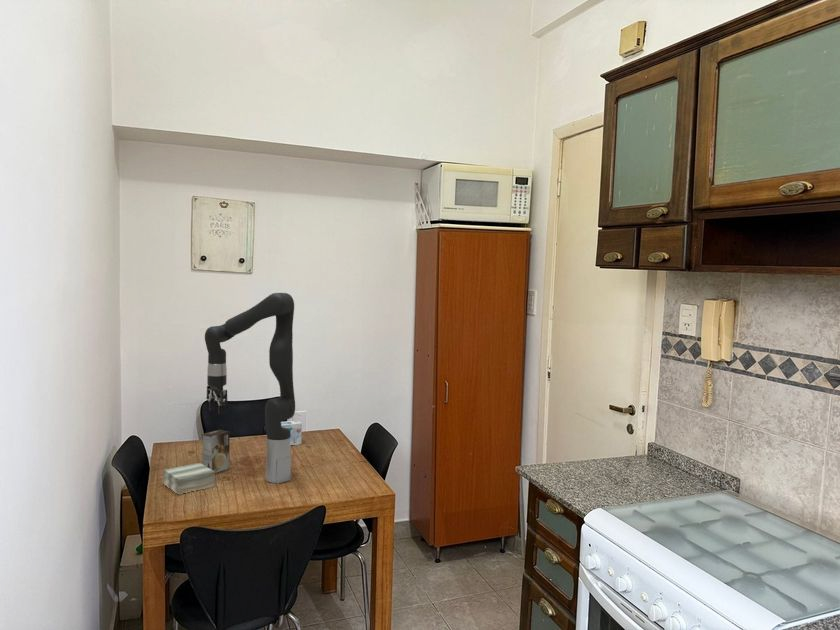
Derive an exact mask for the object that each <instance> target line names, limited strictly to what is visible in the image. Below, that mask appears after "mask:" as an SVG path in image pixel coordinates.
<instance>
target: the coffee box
mask: <svg viewBox="0 0 840 630" xmlns="http://www.w3.org/2000/svg"><path fill="white" fill-rule="evenodd" d="M201 437H202V438H201V439H202V441H201V442H202V448H201V449H202V465H204V466H206V467H208V468H209V469H211V470H213V471H215V474H217V473H219V472H224V471H226V470H228V469H230V468H231V467H230V461H231V460H230V459H231V458H230V457H231V456H230V447H231V446H230V431H227V430H223V429H217V430H213V431H208V432H205V433H204V432H203V433H202V436H201Z"/></svg>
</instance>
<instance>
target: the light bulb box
mask: <svg viewBox="0 0 840 630" xmlns="http://www.w3.org/2000/svg"><path fill="white" fill-rule="evenodd" d="M281 426H282V427H283V428H287V429H289V430H290V433H291V435H290V447H292V446H291V445H295V446H300V445H299V444H301V445H302V437H303V436H302V435H303V434H302V433H303V431H302V430H303V428H302V427H303V423H302V422H301V421H299V420H298V419H297V420H289V421H288V420H287V421H286V420H285V421H281Z"/></svg>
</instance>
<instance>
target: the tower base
mask: <svg viewBox="0 0 840 630" xmlns="http://www.w3.org/2000/svg"><path fill="white" fill-rule="evenodd" d="M215 474H216V473H215V471H213V470H211V469H209V468H208V467H206V466H204V465H203V463H200V462H195V463H190V464H185V465H181V466H175V467H171V468H165V469H163V485H166V486H167V487H168V488H167V487H166V486H165V487H166V488H167V489H169V488H170V489H171V490H173V491H174V492H176V493H177V494H182V493H186V494H188V493H187V492H190V493H192V492H191V491H194V492H197V491H196V490H199V491H201V489H203V490H206V488H207V489H211V488H215V485H216V484H215V482H216V479H215V478H216V476H215ZM170 489H169V490H170ZM171 490H170V491H171ZM173 491H172V492H173ZM174 492H173V493H174ZM176 493H175V494H176ZM177 494H176V495H177ZM182 495H183V494H182Z"/></svg>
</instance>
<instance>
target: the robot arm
mask: <svg viewBox="0 0 840 630" xmlns="http://www.w3.org/2000/svg"><path fill="white" fill-rule="evenodd" d="M294 314H295V301H294V299H293V296H292V295H291V294H289V293H288V292H287V293H286V292H273V293H271V294H269V295H268V296H266V297H265V298H264V299H262V300H261V301H260V302H258V303H257V304H255V305H254V306H252V307H251V308H249V309H247V310H244V311H243V312H241V313H239V314H236V315H235V316H233V317H230V318H229V319H227V320H226V321H225V322H224V323H223V324H220V325H214V326H210V327H208V328H206V330H205V333H204V342H205V347H206V350H207V353H208V356H207V370H206V371H207V374H206V375H207V378H206V379H207V381H206V382H207V384H206V385H207V386H206V401H208V403H209V407H208V409H209V411H210V412H212V411H215V410H216V402H217V405H218V407H217V408H218V410H217V411H218V415H219V416H221V415H224V414H225V406H226V405H228V390H227V389H224V387H225V386H227V378H228V377H227V376H228V375H227V374H228V372H227V370H228V369H227V351H226V350H225V349H224V348H222V347H221V346H222V345H221V343H224V342H227V341H229V340H231V339H233V338H234V337H236V336H237V335H238V334H242V333H243V332H245V331H247V330H249V329H250V328H251V327H253V326H255V325H256V324H257V323H259V322H261V321H262V320H265V319H267V318H268V319H269V318H271V317H275V329H274V330H275V331H274V333H273V337H272V339H271V341H270V345H269V351H268V352H269V353H268V354H269V357H268V358H269V359H268V360H269V361H268V363H269V367H270V370H271V372H272V374H273V376H275V379H276V380H277V382H278V385H279V392H280V394H279V395H280V396H279V397H275V398H274V397H273V398H270V399H268V400H266V403H265V406H264V423H265V424H264V426H265V427H264V428H265V432H266V477H265V479H266V481H267V482H269V483H273V484H282V483H286V482H290V481H291V479H292V477H291V476H292V475H291V474H292V458H291V446H290V435H291V433H290V430H289V429H287V428H283V427H282V426H281V422H283V421H286V420H289V419H291V418H293V417H294V415H295V413H296V397H295V389H294V388H295V387H294V373H293V371H294V370H293V369H294V368H293V367H294V365H293V363H294V362H293V361H294V353H293V351H294V349H293V337H294V336H293V333H294V332H293V329H294V328H293V325H294V316H295V315H294Z"/></svg>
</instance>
